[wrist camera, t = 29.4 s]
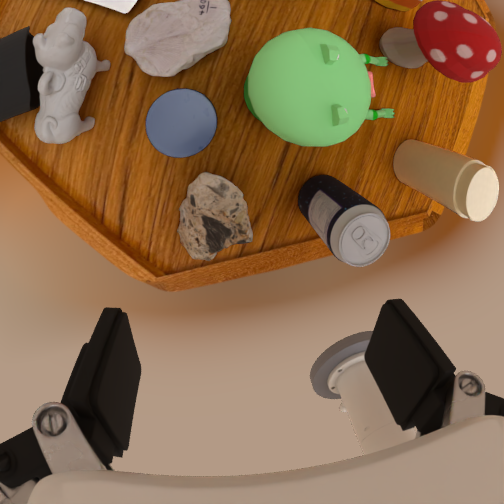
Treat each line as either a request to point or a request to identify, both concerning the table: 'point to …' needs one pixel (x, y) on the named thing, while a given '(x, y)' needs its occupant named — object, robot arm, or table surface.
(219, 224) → the rock
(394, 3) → the candy corn
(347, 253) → the beverage can
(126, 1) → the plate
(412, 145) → the lidded jar
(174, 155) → the lid
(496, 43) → the decorative mushroom
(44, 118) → the dog figurine
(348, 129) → the toy character
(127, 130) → the table surface
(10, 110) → the pen holder
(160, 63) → the fossil
